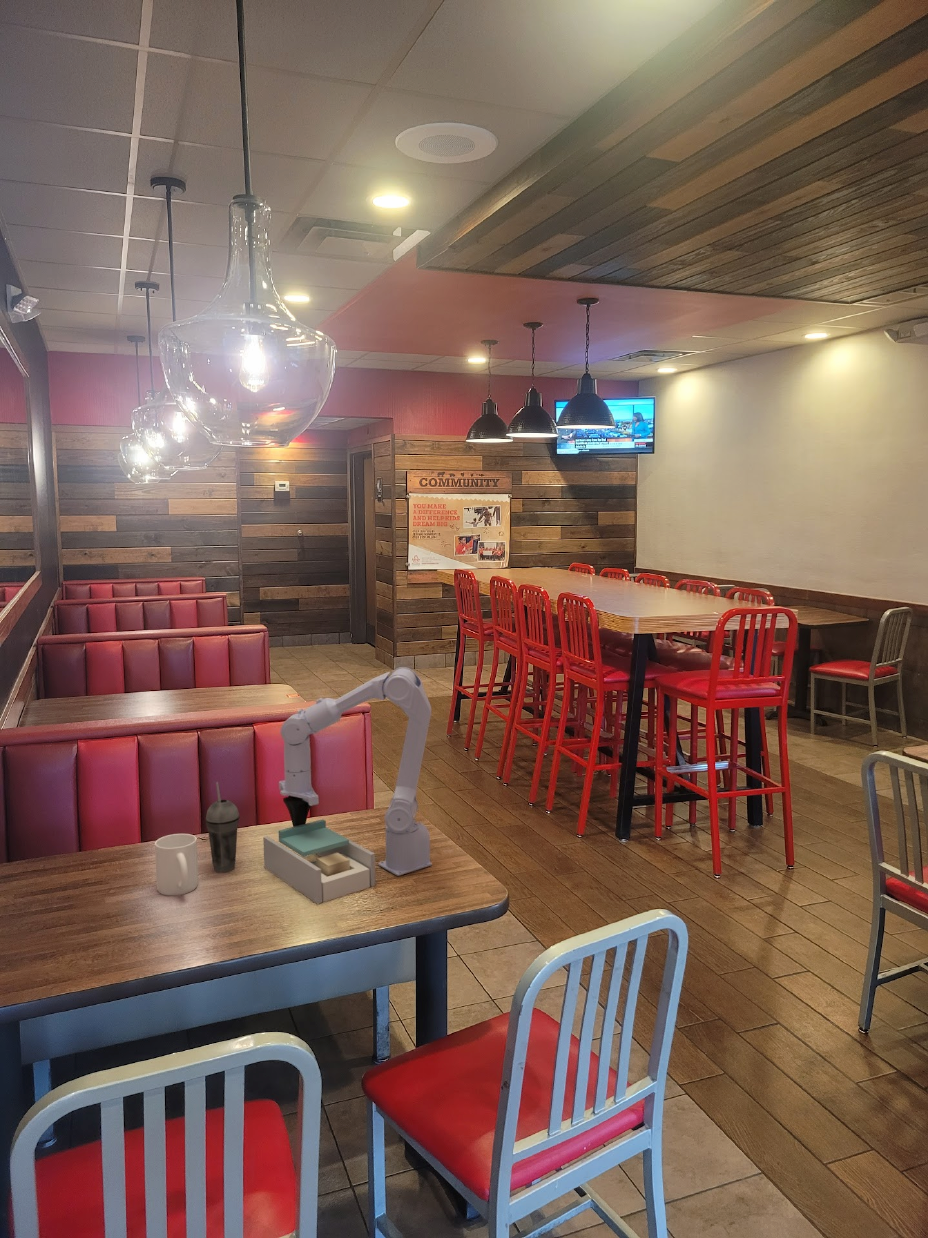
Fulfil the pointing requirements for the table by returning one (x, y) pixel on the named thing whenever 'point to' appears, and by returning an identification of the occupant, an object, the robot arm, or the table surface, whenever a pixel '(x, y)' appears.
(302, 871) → the housing
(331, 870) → the peg
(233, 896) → the table surface
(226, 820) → the beverage cup
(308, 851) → the lid
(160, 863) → the mug
